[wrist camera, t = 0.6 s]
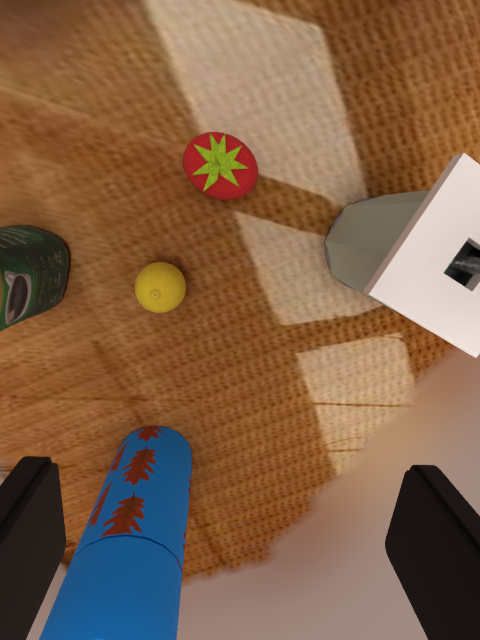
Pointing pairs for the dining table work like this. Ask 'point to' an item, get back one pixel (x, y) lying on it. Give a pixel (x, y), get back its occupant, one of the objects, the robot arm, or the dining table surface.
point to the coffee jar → (30, 272)
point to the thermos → (130, 547)
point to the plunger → (464, 264)
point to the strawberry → (220, 166)
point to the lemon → (160, 287)
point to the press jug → (415, 252)
